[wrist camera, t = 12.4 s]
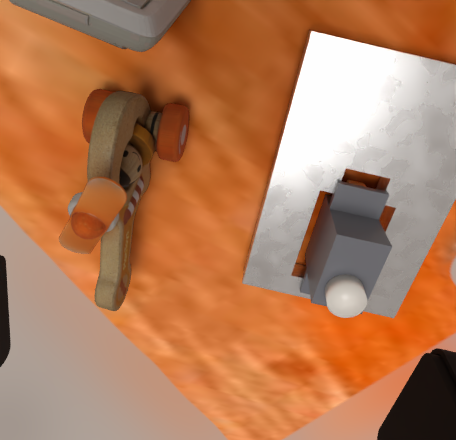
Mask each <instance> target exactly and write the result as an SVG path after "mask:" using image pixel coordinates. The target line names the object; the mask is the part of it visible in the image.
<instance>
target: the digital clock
mask: <svg viewBox="0 0 456 440" xmlns="http://www.w3.org/2000/svg"><path fill="white" fill-rule="evenodd" d="M190 1H191V0H10V2H11V3H13V4H14V5H17V6H19V7H22V8H24V9H26V10H29V11H31V12H34V13H36V14H39V15H41V16H43V17H46V18H48V19H51V20H53V21H56V22H58V23H61V24H63V25H65V26H68V27H70V28H73V29H75V30H78V31H80V32H83V33H85V34H87V35H90V36H92V37H95V38H97V39H100V40H102V41H105V42H107V43H109V44H112V45H114V46H117V47H119V48H122V49H127V48H129V49H131V50H134V51H139V52H143V51H146V50H148V49H150V48H152V47H153V46H154V45H155V44H156V43H157V42H158V41H159V40H160V39H161V38H162V37H163V35H164V34H165V33H166V32H167V30H168V29H169V28H170V27H171V25H172V24H173V23H174V22H175V20H176V19H177V18H178V16H179V15H180V14H181V13H182V11H183V10H184V9H185V8H186V6H187V5H188V4H189V2H190Z"/></svg>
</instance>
